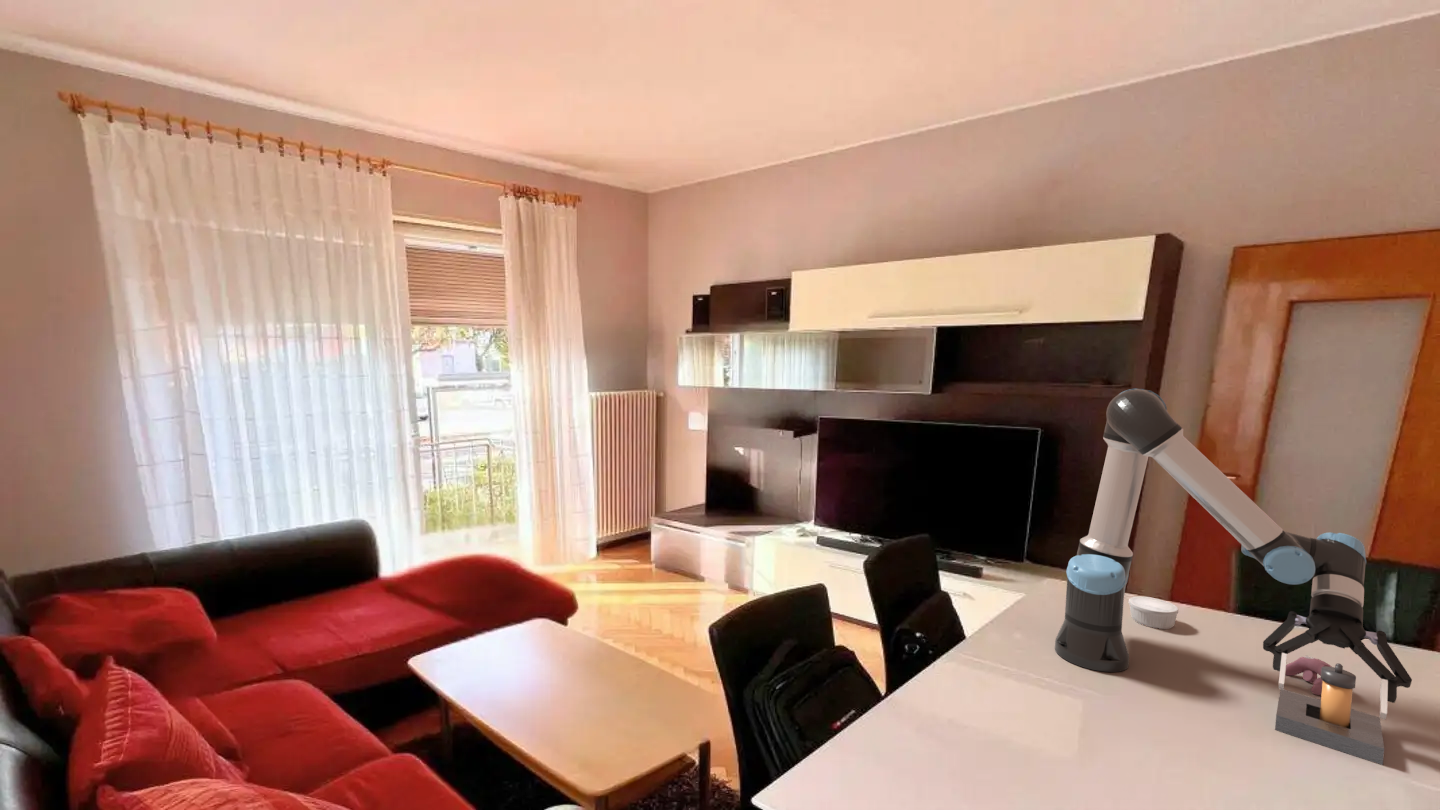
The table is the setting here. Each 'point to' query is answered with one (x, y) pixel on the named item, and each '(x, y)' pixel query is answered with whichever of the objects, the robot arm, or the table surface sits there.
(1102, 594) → the robot arm
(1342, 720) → the orange lidded canister
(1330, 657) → the table surface
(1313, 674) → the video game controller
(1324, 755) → the table surface
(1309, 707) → the grey square socket block
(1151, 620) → the ramekin
